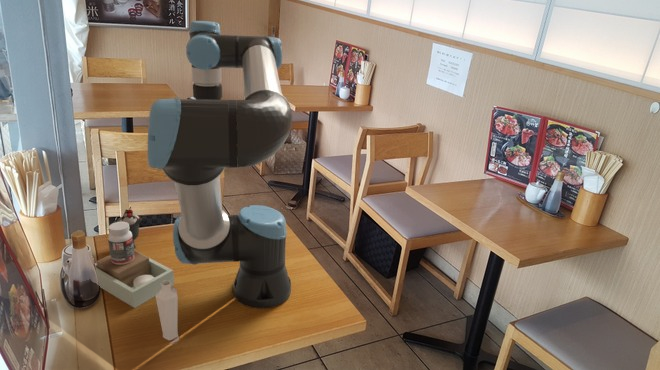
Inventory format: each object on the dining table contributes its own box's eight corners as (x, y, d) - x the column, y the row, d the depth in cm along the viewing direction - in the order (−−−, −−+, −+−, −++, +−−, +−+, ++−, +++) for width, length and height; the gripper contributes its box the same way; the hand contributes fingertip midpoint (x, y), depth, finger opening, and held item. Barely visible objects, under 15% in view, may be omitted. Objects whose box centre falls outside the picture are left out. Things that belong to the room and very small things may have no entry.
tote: (174, 287, 122) (173, 270, 120) (135, 311, 113) (132, 292, 110) (131, 264, 131) (129, 247, 128) (91, 284, 121) (88, 266, 119)
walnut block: (150, 277, 124) (148, 258, 122) (120, 293, 117) (118, 273, 115) (129, 265, 128) (127, 246, 126) (99, 280, 121) (96, 261, 119)
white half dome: (159, 289, 120) (158, 279, 118) (143, 298, 116) (141, 288, 115) (147, 282, 122) (145, 272, 121) (130, 291, 118) (129, 281, 117)
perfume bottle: (175, 328, 108) (171, 274, 102) (184, 338, 105) (180, 283, 99) (156, 336, 105) (150, 281, 99) (165, 347, 102) (159, 291, 96)
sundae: (136, 257, 134) (131, 211, 128) (116, 254, 135) (109, 207, 129) (149, 246, 140) (144, 201, 134) (129, 242, 141) (123, 198, 135)
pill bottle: (133, 264, 118) (129, 230, 115) (109, 266, 117) (104, 232, 113) (136, 252, 124) (132, 219, 120) (113, 254, 122) (108, 221, 118)
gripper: (252, 88, 119) (253, 165, 128) (185, 74, 131) (189, 145, 139) (232, 93, 113) (233, 173, 122) (163, 77, 125) (169, 151, 134)
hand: (210, 158), depth 131 cm, fingers open, 13 cm apart
